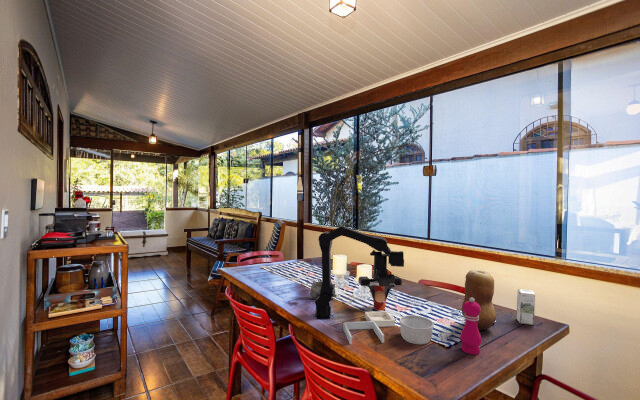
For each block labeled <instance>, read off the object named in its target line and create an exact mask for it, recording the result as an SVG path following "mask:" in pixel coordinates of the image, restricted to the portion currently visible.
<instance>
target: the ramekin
mask: <svg viewBox="0 0 640 400" xmlns="http://www.w3.org/2000/svg"><path fill="white" fill-rule="evenodd" d="M398 324H399V325H400V326H399V327H400V329H399V330H400V335H401V337H402V338H403V340H404V341H406V342H407V343H410V344H413V345H414V344H415V345H427V344H428V343H430V342H431V340H432V336H433V329H434V327H435V326H434V325H435V324H434V322H433V320H431V319H429V318H427V317H425V316H421V315H415V314H411V315H410V314H408V315H403V316H401V317H400V318H399V323H398Z"/></svg>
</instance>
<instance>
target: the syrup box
mask: <svg viewBox="0 0 640 400" xmlns="http://www.w3.org/2000/svg"><path fill="white" fill-rule="evenodd" d="M516 298H517V299H516V300H517V301H516V320H517V321H518V323H519V324H523V325H524V324H525V325H530V326H534V325H535V311H536V309H535V308H536V293H535V292H534V291H533V290H532V289H531V290H530V289H521V288H517V297H516Z"/></svg>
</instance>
